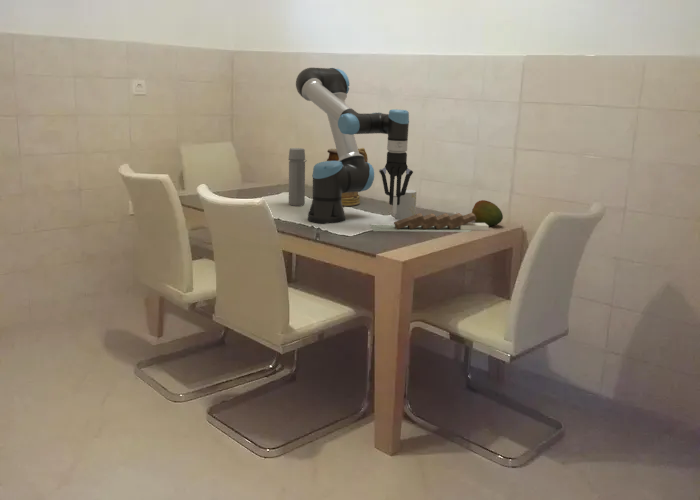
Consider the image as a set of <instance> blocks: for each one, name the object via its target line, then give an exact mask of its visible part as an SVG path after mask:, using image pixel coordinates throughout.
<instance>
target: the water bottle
mask: <svg viewBox="0 0 700 500" xmlns="http://www.w3.org/2000/svg"><path fill="white" fill-rule="evenodd" d="M305 152H306V149H305V148H300V147H291V148H289V150H288V204H289V205H290V206H292V205H293V207H301V205H302V206H303V205H305V202H306V201H305V200H306V197H305V196H306V193H305V192H306V191H305V190H306V189H305V188H306V186H305V185H306V162H307V160H306V154H305Z"/></svg>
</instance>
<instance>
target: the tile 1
mask: <svg viewBox="0 0 700 500" xmlns="http://www.w3.org/2000/svg"><path fill="white" fill-rule="evenodd" d="M423 216H424V215H423V214H422V213H421V212H420V213H415V215H413V216H410V217H407V218H405V219H402V220H396V221H394V222H393V225H395V227H396V228H397V229H400V228H403V227H406V226H408V225H411V224H414V223H417V222H420V221H422V220H424V217H423Z"/></svg>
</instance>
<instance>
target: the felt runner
mask: <svg viewBox="0 0 700 500" xmlns="http://www.w3.org/2000/svg"><path fill="white" fill-rule="evenodd" d="M369 226H370V229H372V231H373V232H437V233H438V232H441V233H442V232H443V233H444V232H449V233H450V232H454V233H458V232H459V233H462V232H463V233H464V232H468V233H469V232H472V230H460V229H459V228H458V227H456V228H453V229H449V228H448V227H447V226H446V227H443V228H441V229H438V230H437V229H436V228H435V227H434V226H433V227H430V228H427V229H423V228H422V227H421V226H419V227H416V228H413V229H411V230H410V229H409V228H408V226H406V227H403V228H400V229H397V228H396V227H395V225H394V224H369Z"/></svg>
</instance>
